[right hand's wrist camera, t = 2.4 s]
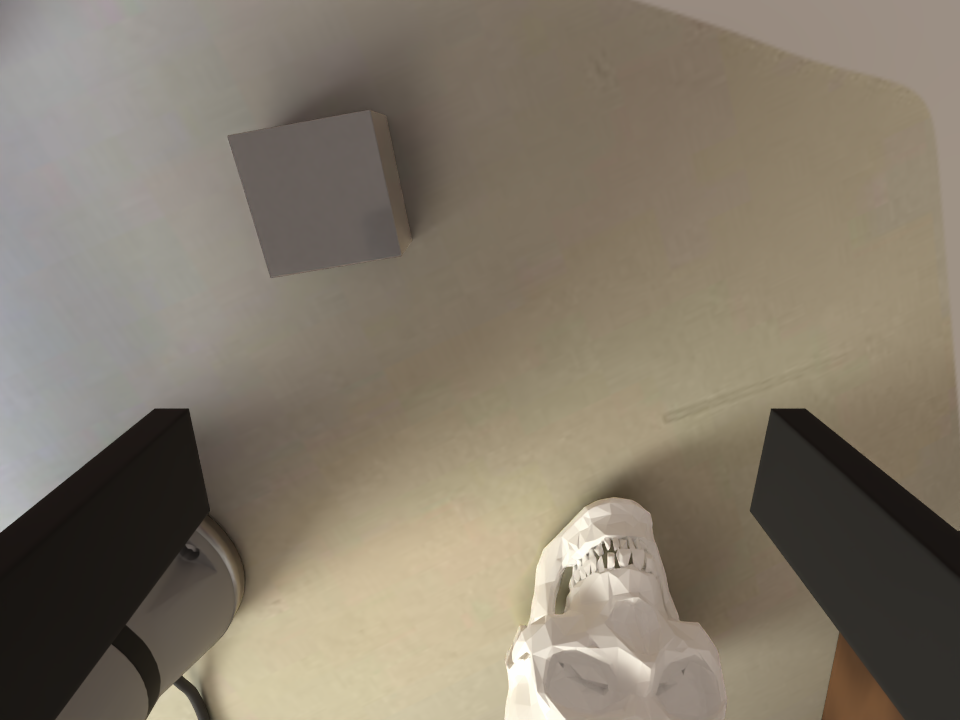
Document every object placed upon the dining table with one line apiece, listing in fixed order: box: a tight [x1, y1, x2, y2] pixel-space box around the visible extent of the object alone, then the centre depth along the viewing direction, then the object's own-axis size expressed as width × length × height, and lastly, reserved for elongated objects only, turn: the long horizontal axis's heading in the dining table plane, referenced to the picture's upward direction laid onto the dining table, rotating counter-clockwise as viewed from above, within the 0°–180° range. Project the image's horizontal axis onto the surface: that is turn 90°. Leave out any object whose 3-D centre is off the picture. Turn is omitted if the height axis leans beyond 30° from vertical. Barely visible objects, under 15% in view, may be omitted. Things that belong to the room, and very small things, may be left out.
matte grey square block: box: [228, 110, 412, 278], centre depth 30 cm, size 7×7×5 cm
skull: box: [505, 497, 727, 720], centre depth 36 cm, size 13×22×16 cm, turn 179°
